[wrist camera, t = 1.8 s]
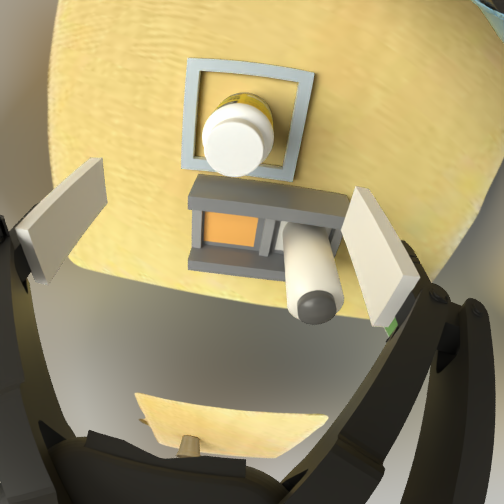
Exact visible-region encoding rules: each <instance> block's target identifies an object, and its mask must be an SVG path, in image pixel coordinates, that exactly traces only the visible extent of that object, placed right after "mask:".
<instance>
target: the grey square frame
mask: <svg viewBox="0 0 504 504" xmlns="http://www.w3.org/2000/svg"><path fill="white" fill-rule="evenodd" d="M201 71H213V72H227V73H237V74H247V75H255V76H263V77H270V78H277V79H283V80H289V81H294V82H298V86H297V92H296V97H295V103H294V108H293V114H292V119H291V124H290V130H289V135H288V140H287V146H286V151H285V156H284V161H283V167H282V166H275V165H268V164H259V166H258V167H257V168H256V169H255V170H254V171H252V172H251V173H249V174H247V175H246V176H254V177H261V178H268V179H275V180H282V181H289V182H293V177H294V173H295V168H296V163H297V159H298V154H299V149H300V144H301V139H302V135H303V130H304V125H305V120H306V115H307V110H308V105H309V100H310V95H311V90H312V84H313V79H314V74H315V73H313V72H309V71H304V70H299V69H293V68H288V67H282V66H275V65H268V64H261V63H253V62H244V61H234V60H222V59H205V58H188V60H187V71H186V82H185V96H184V111H183V130H182V155H181V169H191V170H201V171H211V172H217V171H215V170H214V169H213V168H212V167H211V166H210V165H209V163H208V162H207V160H206V157H199V156H195V141H196V125H197V111H198V99H199V87H200V77H201Z"/></svg>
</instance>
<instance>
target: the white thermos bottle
mask: <svg viewBox="0 0 504 504" xmlns="http://www.w3.org/2000/svg"><path fill="white" fill-rule="evenodd" d="M282 238H283V251H284V264H285V278H286V293H287V307H288V310H289V312H290V313H291V314H292V315H293V316H294V317H296V318H298V319H300V320H301V321H302V322H304V323H306V324H312V325H317V324H322V323H325V322H327V321H329V320H331V319H332V318H333V317H334V316H335V314H336V313H337V312H338V311H339V310H340V309H341V307H342V305H343V303H344V295H343V291H342V287H341V283H340V279H339V275H338V272H337V268H336V264H335V260H334V257H333V253H332V249H331V246H330V242H329V239H328V235H327V232H326V228H325V227H321V226H314V225H307V224H300V223H293V222H287V224H286V225H285V226H284V228H283V232H282Z"/></svg>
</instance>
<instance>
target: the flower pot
mask: <svg viewBox="0 0 504 504" xmlns="http://www.w3.org/2000/svg"><path fill="white" fill-rule="evenodd" d="M176 456H177V457H179V458H186V457H198V456H201V455H200V445H199V438H197V437H193V436H183V437H182V441H181V444H180V448H179V451H178V453H177V455H176Z"/></svg>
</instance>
